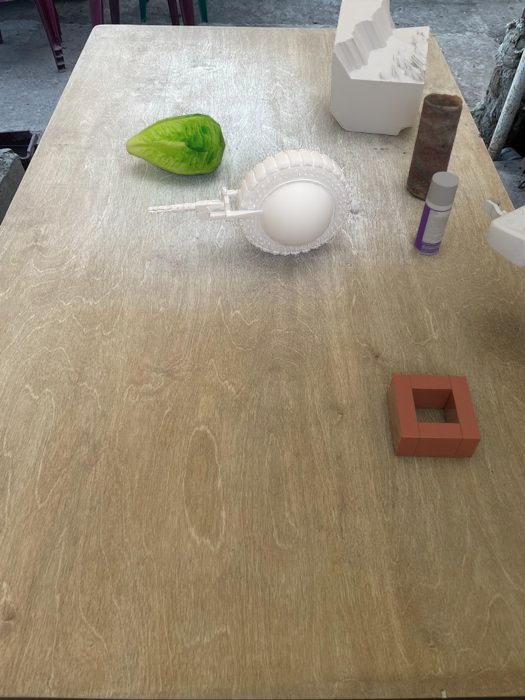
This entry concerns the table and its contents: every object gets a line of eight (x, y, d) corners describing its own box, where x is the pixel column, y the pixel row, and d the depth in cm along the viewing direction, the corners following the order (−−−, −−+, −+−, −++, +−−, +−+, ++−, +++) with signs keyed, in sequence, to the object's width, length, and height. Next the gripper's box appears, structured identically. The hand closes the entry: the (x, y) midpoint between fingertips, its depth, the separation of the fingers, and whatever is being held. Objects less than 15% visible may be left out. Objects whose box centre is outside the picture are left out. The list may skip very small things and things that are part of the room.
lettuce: (135, 151, 136) (127, 99, 127) (227, 152, 137) (225, 100, 128) (127, 189, 127) (117, 136, 118) (225, 190, 128) (223, 137, 119)
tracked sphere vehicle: (158, 290, 109) (143, 195, 93) (153, 237, 118) (139, 142, 103) (352, 269, 113) (368, 175, 98) (333, 220, 122) (345, 126, 107)
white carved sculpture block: (420, 93, 150) (442, 1, 127) (414, 147, 144) (437, 61, 121) (336, 85, 152) (343, -6, 129) (327, 137, 147) (332, 52, 123)
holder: (457, 395, 95) (466, 375, 91) (471, 457, 88) (481, 438, 84) (386, 394, 95) (392, 374, 91) (395, 456, 88) (401, 437, 84)
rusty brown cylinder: (398, 192, 128) (418, 99, 113) (413, 175, 132) (435, 84, 117) (432, 205, 126) (457, 112, 110) (447, 188, 130) (473, 96, 114)
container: (414, 237, 119) (432, 169, 108) (439, 241, 119) (459, 173, 107) (413, 253, 116) (431, 185, 105) (438, 257, 116) (459, 188, 104)
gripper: (637, 201, 90) (560, 155, 97) (542, 249, 82) (466, 196, 90) (617, 235, 95) (545, 189, 102) (525, 284, 87) (455, 230, 95)
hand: (507, 192), depth 96 cm, fingers open, 8 cm apart
